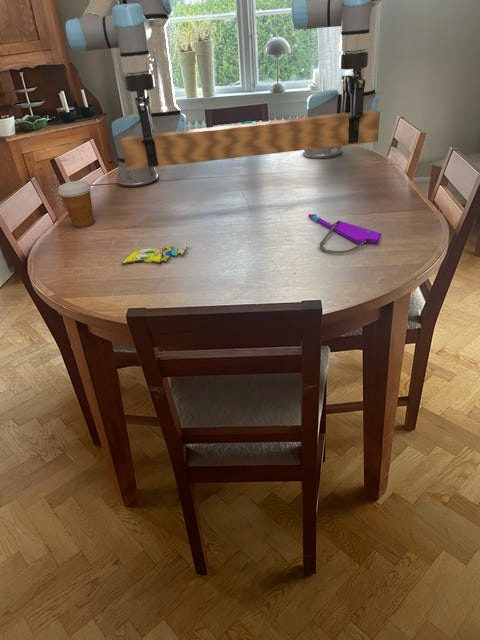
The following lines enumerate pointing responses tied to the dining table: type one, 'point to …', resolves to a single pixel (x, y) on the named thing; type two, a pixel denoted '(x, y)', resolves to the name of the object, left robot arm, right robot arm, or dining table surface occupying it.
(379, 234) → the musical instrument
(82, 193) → the disposable coffee cup
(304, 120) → the beam
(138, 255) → the toy
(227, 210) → the dining table surface
